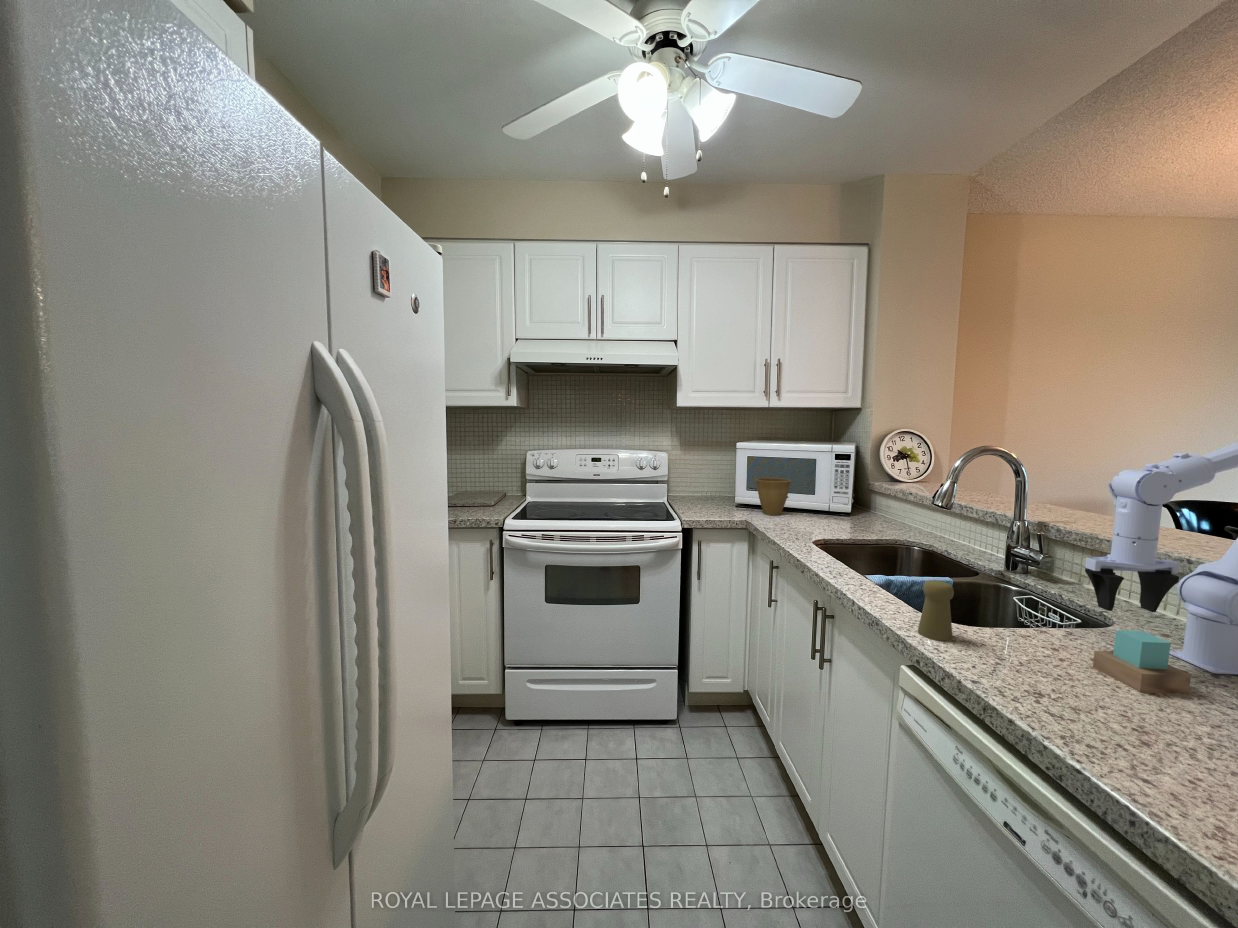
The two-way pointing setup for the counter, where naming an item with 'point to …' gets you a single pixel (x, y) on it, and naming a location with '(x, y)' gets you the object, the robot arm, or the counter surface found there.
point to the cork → (936, 611)
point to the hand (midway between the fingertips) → (1126, 609)
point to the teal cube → (1141, 649)
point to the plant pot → (772, 494)
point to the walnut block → (1142, 675)
